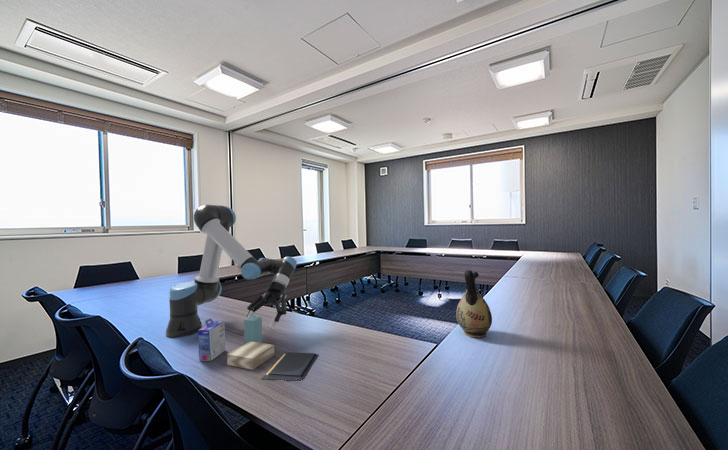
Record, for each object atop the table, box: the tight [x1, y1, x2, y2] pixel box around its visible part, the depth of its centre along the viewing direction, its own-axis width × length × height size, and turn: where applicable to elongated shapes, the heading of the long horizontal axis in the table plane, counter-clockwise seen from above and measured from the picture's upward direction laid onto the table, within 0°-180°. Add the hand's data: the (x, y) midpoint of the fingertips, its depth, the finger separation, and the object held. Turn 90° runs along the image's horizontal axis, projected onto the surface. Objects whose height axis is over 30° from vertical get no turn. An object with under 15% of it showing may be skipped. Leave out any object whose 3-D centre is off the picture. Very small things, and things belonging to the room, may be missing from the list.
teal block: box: [243, 315, 263, 344], centre depth 120 cm, size 5×5×12 cm
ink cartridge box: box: [197, 317, 227, 362], centre depth 113 cm, size 10×6×14 cm, turn 174°
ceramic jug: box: [455, 269, 493, 338], centre depth 128 cm, size 17×15×30 cm
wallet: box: [261, 351, 320, 382], centre depth 103 cm, size 20×2×15 cm
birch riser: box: [226, 341, 275, 370], centre depth 108 cm, size 12×12×4 cm
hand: (258, 327), depth 122 cm, fingers open, 13 cm apart
